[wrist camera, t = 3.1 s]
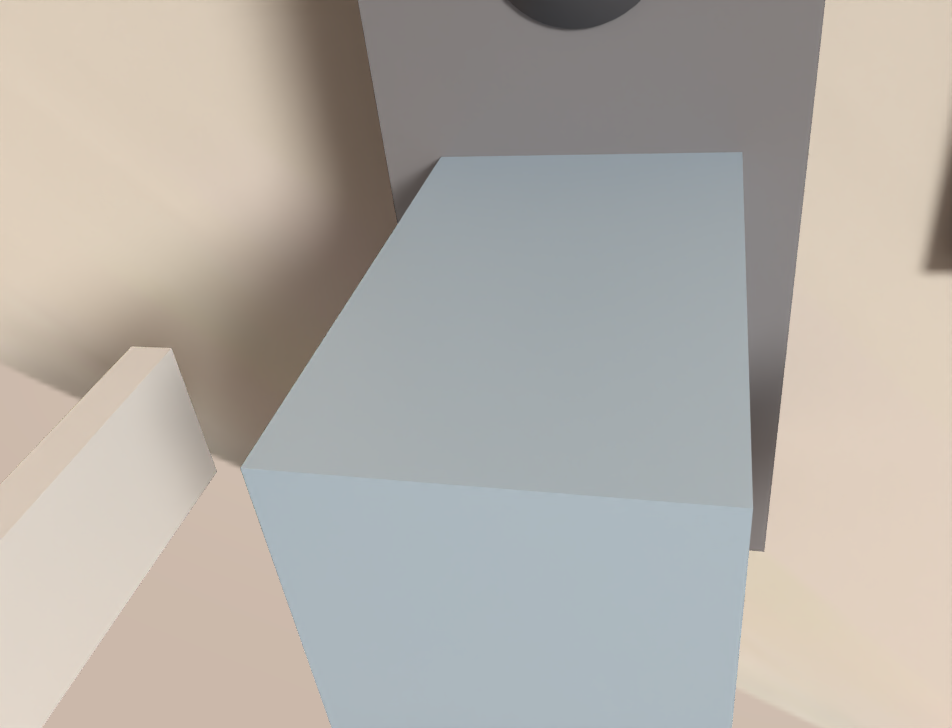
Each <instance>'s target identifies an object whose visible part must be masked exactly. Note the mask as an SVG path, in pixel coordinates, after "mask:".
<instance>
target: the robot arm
mask: <svg viewBox="0 0 952 728" xmlns="http://www.w3.org/2000/svg"><path fill="white" fill-rule="evenodd" d="M216 472H217V471H216V468H215V465H214V462H213V460H212V457H211V454H210V451H209V449H208V446H207V443H206V441H205V438H204V435H203V432H202V430H201V427H200V424H199V421H198V419H197V416H196V413H195V411H194V408H193V405H192V402H191V400H190V397H189V394H188V392H187V389H186V386H185V383H184V381H183V378H182V375H181V373H180V370H179V367H178V364H177V362H176V359H175V356H174V353H173V351H172V348H156V347H134V346H132V347H131V348H130V349H129V350H128V351H127V352H126V353H125V354H124V355H123V356H122V357H121V358H120V359H119V360H118V361H117V362H116V363H115V364H114V365H113V366H112V367H111V368H110V370H109V371H108V372H107V373H106V374H105V375H104V376H103V377H102V378H101V379H100V380H99V381H98V382H97V383H96V384H95V385H94V386H93V387H92V388H91V389H90V390H89V392H88V393H87V394H86V395H85V396H84V397H83V398H82V399H81V400H80V401H79V402H78V403H77V404H76V405H75V406H74V407H73V408H72V409H71V410H70V411H69V412H68V414H67V415H66V416H65V417H64V418H63V419H62V420H61V421H60V422H59V423H58V424H57V425H56V426H55V427H54V428H53V429H52V430H51V432H49V434H47V436H46V437H45V438H44V439H43V440H42V441H41V442H40V443H39V444H38V445H37V446H36V447H35V448H34V449H33V450H32V451H31V452H30V453H29V454H28V455H27V456H26V457H25V458H24V460H23V461H22V462H21V463H20V464H19V465H18V466H17V467H16V468H15V469H14V470H13V471H12V472H11V473H10V474H9V476H7V477H6V478H5V479H4V481H3V482H2V483H1V484H0V728H42V727H43V726H44V724H45V723H46V721H47V720H48V718H49V717H50V715H51V714H52V712H53V711H54V709H55V708H56V706H57V705H58V704H59V702H60V701H61V699H62V698H63V696H64V695H65V693H66V692H67V690H68V689H69V687H70V686H71V685H72V683H73V681H74V680H75V679H76V677H77V676H78V674H79V673H80V671H81V670H82V668H83V667H84V666H85V664H86V662H87V661H88V659H89V658H90V657H91V655H92V654H93V652H94V651H95V649H96V648H97V647H98V645H99V643H100V642H101V640H102V639H103V637H104V636H105V635H106V633H107V632H108V630H109V629H110V628H111V626H112V625H113V623H114V622H115V620H116V619H117V617H118V616H119V614H120V613H121V611H122V610H123V608H124V607H125V605H126V604H127V603H128V601H129V600H130V598H131V597H132V595H133V594H134V592H135V591H136V589H137V588H138V586H139V585H140V584H141V582H142V581H143V579H144V578H145V576H146V575H147V573H148V572H149V570H150V569H151V567H152V566H153V564H154V563H155V562H156V560H157V559H158V557H159V556H160V554H161V553H162V551H163V550H164V548H165V547H166V545H167V544H168V543H169V541H170V540H171V538H172V537H173V535H174V534H175V532H176V531H177V529H178V528H179V526H180V525H181V523H182V522H183V521H184V519H185V518H186V516H187V515H188V513H189V512H190V510H191V509H192V507H193V506H194V504H195V503H196V502H197V500H198V498H199V497H200V496H201V494H202V493H203V491H204V490H205V488H206V487H207V485H208V484H209V483H210V481H211V480H212V478H213V477H214V475H215V474H216Z"/></svg>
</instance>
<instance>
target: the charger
mask: <svg viewBox="0 0 952 728" xmlns="http://www.w3.org/2000/svg"><path fill="white" fill-rule="evenodd" d="M240 469H241V472H242V475H243V477H244V480H245V483H246V486H247V489H248V492H249V494H250V497H251V500H252V503H253V506H254V509H255V511H256V514H257V517H258V520H259V523H260V526H261V529H262V531H263V534H264V537H265V540H266V543H267V546H268V548H269V551H270V554H271V557H272V560H273V563H274V565H275V568H276V571H277V574H278V576H279V580H280V583H281V585H282V588H283V591H284V594H285V597H286V600H287V602H288V605H289V608H290V611H291V613H292V616H293V619H294V622H295V625H296V628H297V631H298V634H299V636H300V639H301V642H302V645H303V648H304V651H305V654H306V656H307V659H308V662H309V665H310V668H311V671H312V673H313V676H314V679H315V682H316V685H317V688H318V690H319V693H320V696H321V699H322V702H323V705H324V707H325V710H326V713H327V716H328V719H329V722H330V724H331V727H332V728H732V721H733V720H732V719H733V710H734V700H735V690H736V680H737V669H738V659H739V649H740V638H741V628H742V618H743V607H744V597H745V587H746V576H747V566H748V556H749V545H750V535H751V525H752V515H753V490H752V456H751V423H750V390H749V356H748V323H747V290H746V256H745V223H744V189H743V156H742V152H715V153H653V154H591V155H530V156H468V157H441V158H440V159H439V161H438V162H437V164H436V165H435V167H434V168H433V170H432V172H431V173H430V175H429V176H428V178H427V179H426V181H425V182H424V184H423V186H422V187H421V189H420V190H419V192H418V193H417V195H416V196H415V198H414V199H413V201H412V203H411V204H410V206H409V207H408V209H407V210H406V212H405V213H404V215H403V217H402V218H401V220H400V221H399V223H398V224H397V226H396V227H395V229H394V230H393V232H392V234H391V235H390V237H389V238H388V240H387V241H386V243H385V244H384V246H383V248H382V249H381V251H380V252H379V254H378V255H377V257H376V258H375V260H374V261H373V263H372V265H371V266H370V268H369V269H368V271H367V272H366V274H365V275H364V277H363V278H362V280H361V282H360V283H359V285H358V286H357V288H356V289H355V291H354V292H353V294H352V296H351V297H350V299H349V300H348V302H347V303H346V305H345V306H344V308H343V309H342V311H341V313H340V314H339V316H338V317H337V319H336V320H335V322H334V323H333V325H332V327H331V328H330V330H329V331H328V333H327V334H326V336H325V337H324V339H323V340H322V342H321V344H320V345H319V347H318V348H317V350H316V351H315V353H314V354H313V356H312V357H311V359H310V361H309V362H308V364H307V365H306V367H305V368H304V370H303V371H302V373H301V375H300V376H299V378H298V379H297V381H296V382H295V384H294V385H293V387H292V388H291V390H290V392H289V393H288V395H287V396H286V398H285V399H284V401H283V402H282V404H281V406H280V407H279V409H278V410H277V412H276V413H275V415H274V416H273V418H272V419H271V421H270V423H269V424H268V426H267V427H266V429H265V430H264V432H263V433H262V435H261V437H260V438H259V440H258V441H257V443H256V444H255V446H254V447H253V449H252V450H251V452H250V454H249V455H248V457H247V458H246V460H245V461H244V463H243V464H242V466H241V467H240Z"/></svg>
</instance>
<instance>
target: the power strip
mask: <svg viewBox="0 0 952 728" xmlns="http://www.w3.org/2000/svg"><path fill="white" fill-rule="evenodd" d="M358 4H359V9H360V15H361V20H362V26H363V32H364V37H365V43H366V49H367V54H368V60H369V65H370V71H371V77H372V82H373V88H374V94H375V99H376V105H377V110H378V116H379V122H380V127H381V133H382V139H383V144H384V150H385V155H386V161H387V167H388V172H389V178H390V184H391V189H392V195H393V200H394V206H395V212H396V217H397V223H399V221H400V220H401V218H402V217H403V215H404V213H405V212H406V210H407V209H408V207H409V206H410V204H411V203H412V201H413V199H414V198H415V196H416V195H417V193H418V192H419V190H420V189H421V187H422V186H423V184H424V182H425V181H426V179H427V178H428V176H429V175H430V173H431V172H432V170H433V168H434V167H435V165H436V164H437V162H438V161H439V159H440V158H441V157H468V156H530V155H591V154H653V153H715V152H742V156H743V189H744V223H745V256H746V290H747V323H748V356H749V390H750V423H751V456H752V490H753V515H752V525H751V535H750V545H749V550H752V551H763V552H764V548H765V539H766V530H767V521H768V512H769V503H770V494H771V485H772V476H773V467H774V458H775V449H776V440H777V431H778V422H779V413H780V404H781V395H782V386H783V377H784V368H785V359H786V350H787V341H788V332H789V323H790V314H791V304H792V295H793V286H794V277H795V268H796V259H797V250H798V241H799V232H800V223H801V214H802V205H803V196H804V187H805V178H806V169H807V160H808V151H809V142H810V133H811V124H812V115H813V106H814V97H815V88H816V79H817V70H818V61H819V52H820V43H821V34H822V25H823V16H824V7H825V0H358Z"/></svg>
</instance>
